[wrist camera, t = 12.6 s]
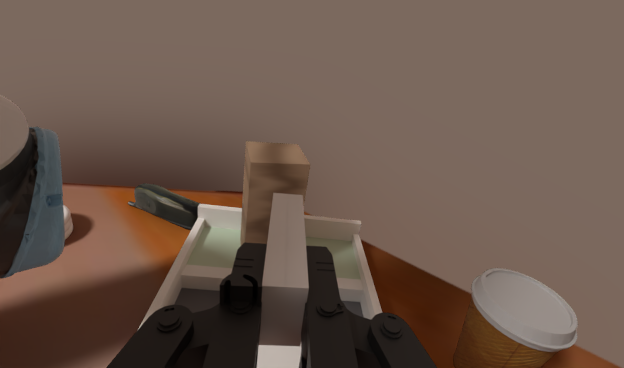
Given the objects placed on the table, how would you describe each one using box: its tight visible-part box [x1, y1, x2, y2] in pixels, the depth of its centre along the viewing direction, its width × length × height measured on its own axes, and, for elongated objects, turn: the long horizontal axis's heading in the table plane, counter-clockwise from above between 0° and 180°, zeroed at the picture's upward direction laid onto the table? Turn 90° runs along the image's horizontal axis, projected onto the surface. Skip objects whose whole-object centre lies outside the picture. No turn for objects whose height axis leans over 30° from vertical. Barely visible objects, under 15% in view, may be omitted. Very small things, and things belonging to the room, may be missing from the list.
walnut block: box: [240, 142, 310, 245], centre depth 42 cm, size 7×7×16 cm
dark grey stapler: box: [128, 184, 200, 230], centre depth 54 cm, size 5×3×15 cm
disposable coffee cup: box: [453, 268, 578, 368], centre depth 34 cm, size 10×10×12 cm
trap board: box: [139, 204, 382, 368], centre depth 38 cm, size 31×26×6 cm
